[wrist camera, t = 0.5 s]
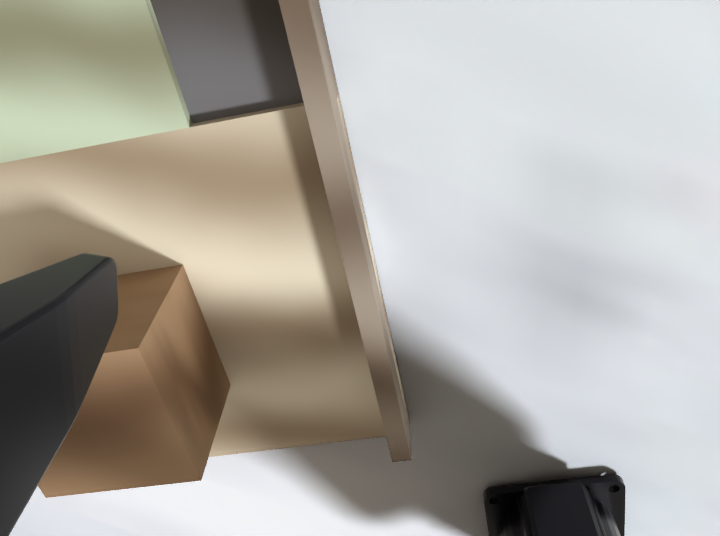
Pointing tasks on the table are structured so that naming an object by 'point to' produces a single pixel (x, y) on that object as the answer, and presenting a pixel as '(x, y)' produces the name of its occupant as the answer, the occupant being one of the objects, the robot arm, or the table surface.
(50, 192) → the trap board
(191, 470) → the walnut block
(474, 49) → the table surface
